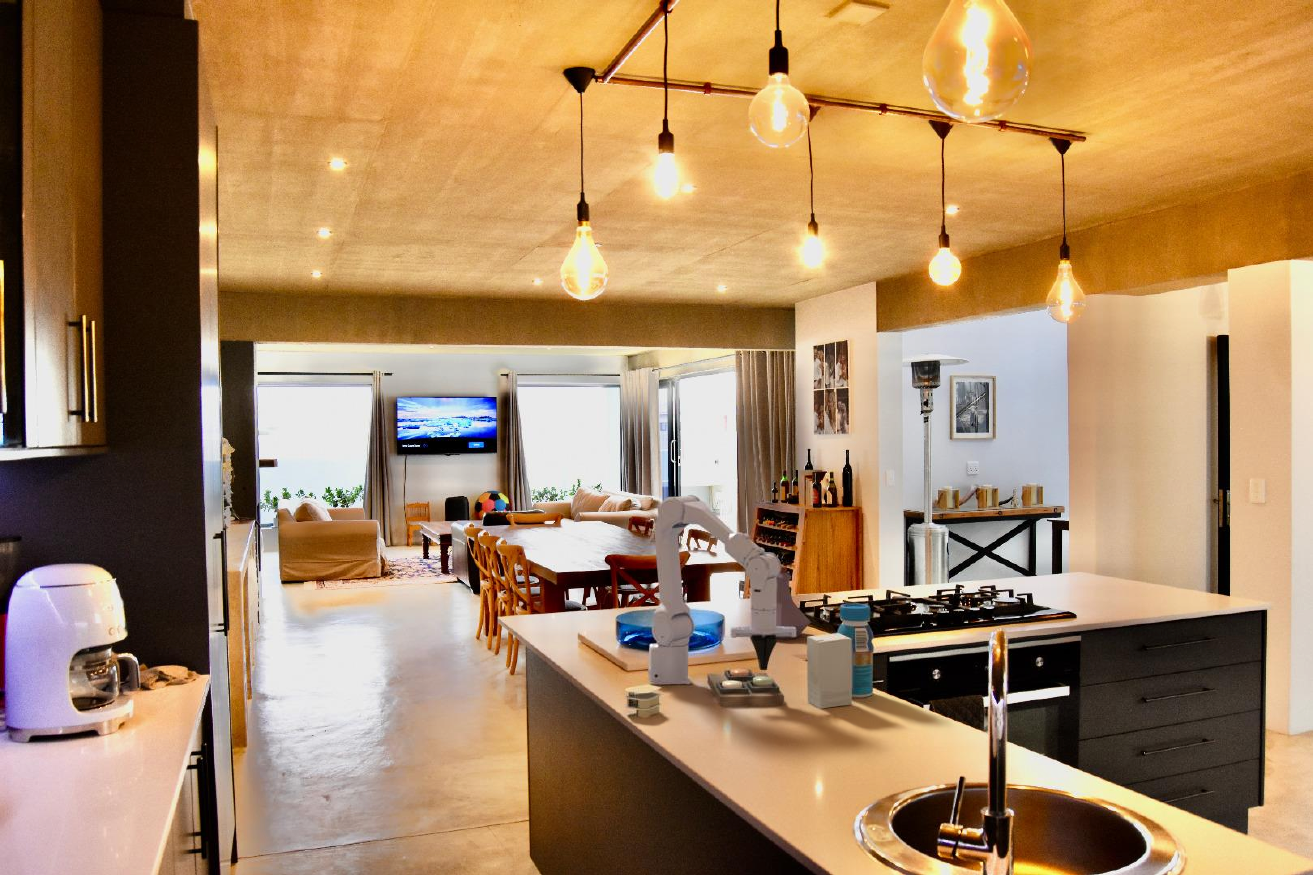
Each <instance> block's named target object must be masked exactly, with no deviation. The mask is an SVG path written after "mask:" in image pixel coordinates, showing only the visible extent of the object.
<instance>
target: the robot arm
mask: <svg viewBox="0 0 1313 875" xmlns="http://www.w3.org/2000/svg"><path fill="white" fill-rule="evenodd" d="M656 509H657V518H656V521H655V525H654V531H653V532H654V544H655V556H656V557H655V558H656V567H657V568H656V569H657V579H658V590H659V591H658V592H659V605H658V606H657V608H656V609H655V611H654V613H653V624H652V626H651V633H652V637H653V638H654V640H655V641H656V643H649V646H648V647H649V648H648V650H649V651H648V667H647V670H648V671H647V672H648V673H647V674H648V679H649V681H650V685H652V686H656V685H691V684H692V680H691V678H690V676H689V642H690V638H691V637H692V635H693V634H694V632H695V621H694V619H693V617H692V615H691V610H690V607H689V605H687V604H686V602H685V601H684V595H683V582H682V581H683V580H682V573H681V559H680V548H679V547H680V546H679V535H680V534H681V533H682V531H683V530H684V529H685V528H686V527H687V526H689V525H698V526H700V527H702V528H703V529H704V530H705V531H707V532H708V533H710V535H712V536H713V537H714V538H716V539H717V540H718V541H720V542H721V543H723V545H724V551H725V553H727V555H729V556H730V557H731V558H732V559H734V561H736V562H737V563H738V564H739V565H740V566H741V567H743V569H744V570H745V573H746V574H745V575H746V576H747V578H748V579H749V586H750V624H749V625H748V626H746V625H745V626H736V627H730V637H731V638H732V639H733V638H734V639H735V638H750V641H751V643H752V646H753V648H754V650H755V654H756V657H757V661H758V667H759V670H760V671H767V670H768V665H769V662H770V657H771V655H772V652H773V650H774V649H775V646H776V645H777V642H778V638H776V636H791V637H795V638H797V637H796V628H795V627H785V626H776V577H777V576H778V575H779V573H780V571H781V566H782V563H781V561H780V559H779V557H778V556H777V554H775V553H774V552H765V549H764V547H760V546H758V545H757V544H756V543H755V542H753V541H752V539H750V537H751V536H750V535H749V534H748V533H747V532H745V533H743V532H741V531H739V532H734V531H733V530H731V528H730V527H729V526H728V525H727V524H725V523H724V522H723V521H722V519H720V518H719V517H718V516H717V515H716V514H715V513H714V512H713V511H712V510H711V509H709V506H708V505H707V503H706V502H704V501H703V500H701V499H700V498H699V496H697V495H693V494H688V495H685V496H684V495H683V496H669V497H666V498H665V499H663V501H662V502H661V503H660V504H659V505H658V506H657V508H656Z"/></svg>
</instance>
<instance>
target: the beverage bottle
mask: <svg viewBox="0 0 1313 875" xmlns="http://www.w3.org/2000/svg"><path fill="white" fill-rule="evenodd" d="M839 617H840V619H839V620H841V621H842V623H841V624H840V626H839V627H838V629H837V632H836V633H840V634H842V635H844V636H846V637H849V638H851V639H852V699H853V698H855V699H857V698H859V699H861V698H862V699H863V698H867V697H871V696H872V695H873V693H874V687H873V686H874V685H873V664H874V663H873V662H874V658H873V656H874V655H873V654H874V651H875V646H874V643H873V640H874V634H873V631H872V628H871V626H870V625H869V623H868V622H870V621H871V620H870V619H871V607H870V605H867V604H863V603H854V602H853V603H850V602H849V603H844V604H841V605H840V608H839Z"/></svg>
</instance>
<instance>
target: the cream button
mask: <svg viewBox="0 0 1313 875" xmlns="http://www.w3.org/2000/svg"><path fill="white" fill-rule="evenodd" d="M732 688H742V682H739V681H724V682H722V689H732Z"/></svg>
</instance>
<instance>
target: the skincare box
mask: <svg viewBox="0 0 1313 875" xmlns="http://www.w3.org/2000/svg"><path fill="white" fill-rule="evenodd" d="M806 646H807V647H806V656H807V657H806V660H807V662H806V665H807V666H806V670H807V672H806V673H807V674H806V675H807V676H806V677H807V678H806V679H807V683H806V684H807V702H808V703H810V704H811V705H813V706H814V707H816V708H818V709H820V710H821V709H828V708H835V707H842V706H851V705H852V704H853V697H852V639H851V638H849V637H846V636H844V635H842V634H840V633H837V632H835V633H828V634H822V635H821V634H820V635H818V634H817V635H812V636H811V635H809V636H807V637H806Z"/></svg>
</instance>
